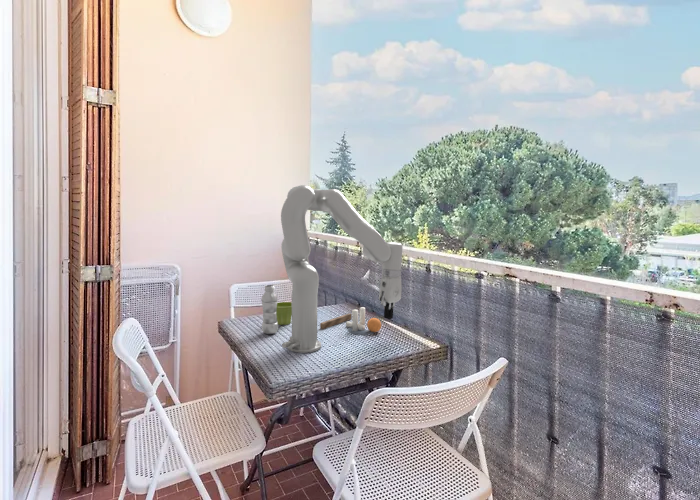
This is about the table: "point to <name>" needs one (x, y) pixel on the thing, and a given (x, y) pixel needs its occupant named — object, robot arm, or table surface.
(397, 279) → the robot arm
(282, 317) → the plant pot
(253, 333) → the table surface
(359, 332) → the pin spot mat
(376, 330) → the ball
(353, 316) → the pin
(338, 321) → the bar
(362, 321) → the pin
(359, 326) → the front pin
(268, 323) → the plastic bottle
